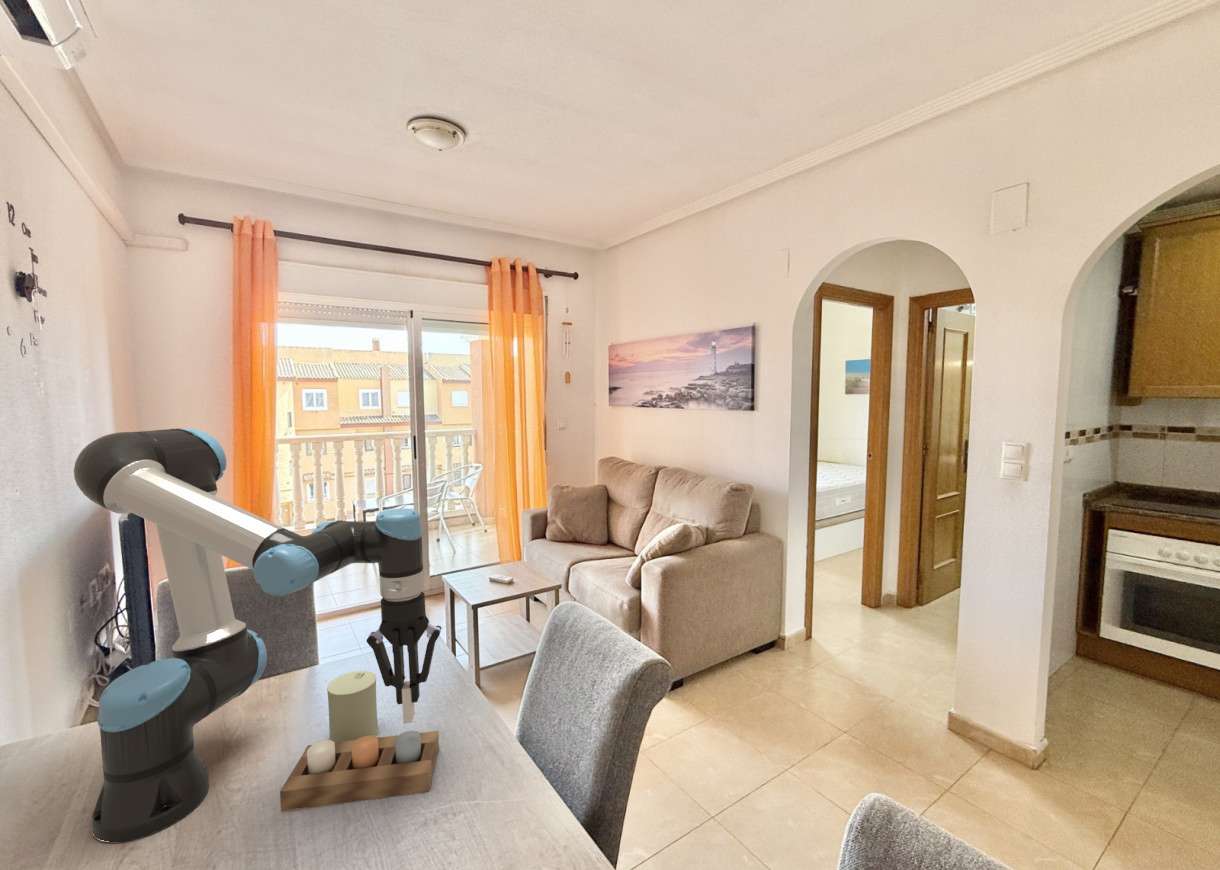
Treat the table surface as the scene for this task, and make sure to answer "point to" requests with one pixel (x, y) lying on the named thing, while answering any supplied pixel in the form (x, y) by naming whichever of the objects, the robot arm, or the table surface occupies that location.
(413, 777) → the wooden egg holder
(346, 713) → the can
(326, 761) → the white egg
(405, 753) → the blue-grey egg
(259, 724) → the table surface
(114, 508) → the robot arm
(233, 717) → the table surface
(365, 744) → the orange egg
